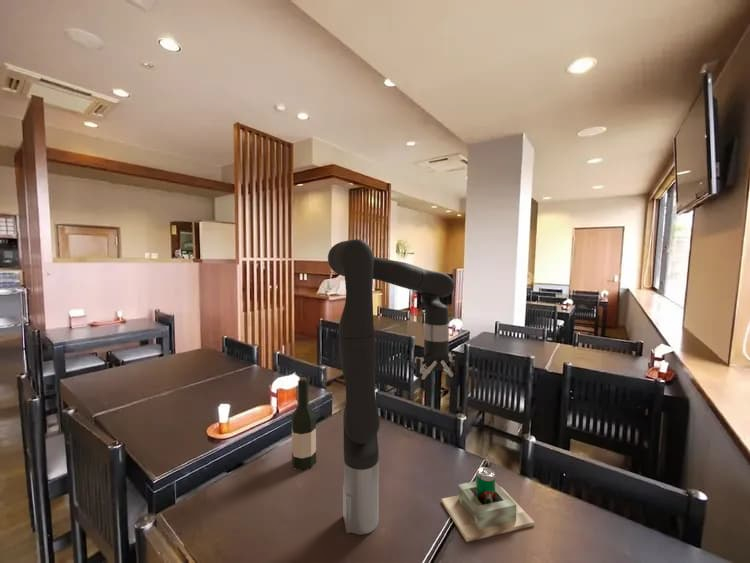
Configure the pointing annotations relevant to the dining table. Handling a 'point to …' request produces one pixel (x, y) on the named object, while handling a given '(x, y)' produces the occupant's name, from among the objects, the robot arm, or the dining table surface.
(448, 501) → the holder
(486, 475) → the soda can
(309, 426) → the wine bottle
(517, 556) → the dining table surface
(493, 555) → the dining table surface
